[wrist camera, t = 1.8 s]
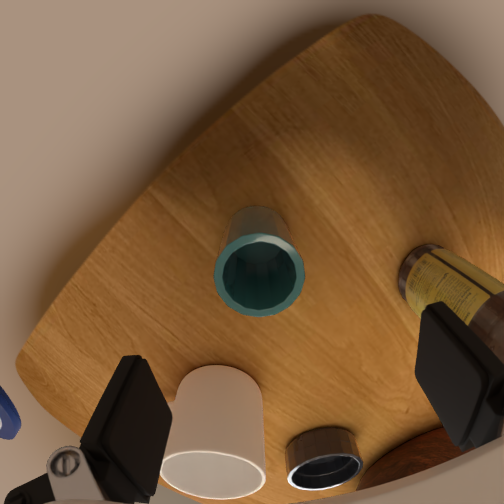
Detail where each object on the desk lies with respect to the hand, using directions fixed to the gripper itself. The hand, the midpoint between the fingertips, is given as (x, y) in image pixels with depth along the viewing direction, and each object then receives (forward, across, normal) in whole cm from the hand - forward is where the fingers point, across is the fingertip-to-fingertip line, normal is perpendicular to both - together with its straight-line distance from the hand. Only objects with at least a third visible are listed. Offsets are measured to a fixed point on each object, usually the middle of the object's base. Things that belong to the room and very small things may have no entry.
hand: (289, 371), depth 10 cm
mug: (+16, +9, +16) cm, 24 cm away
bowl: (+16, -2, +28) cm, 33 cm away
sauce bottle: (+16, -14, +6) cm, 22 cm away
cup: (+16, +1, 0) cm, 16 cm away
